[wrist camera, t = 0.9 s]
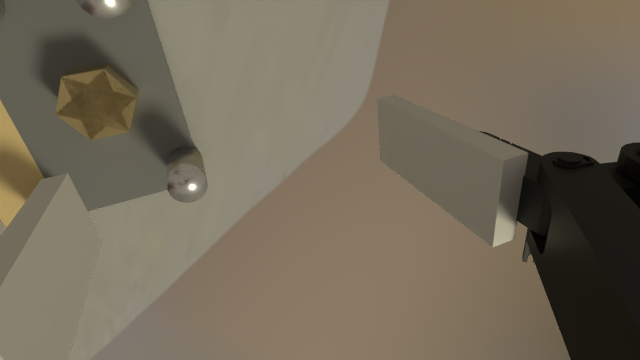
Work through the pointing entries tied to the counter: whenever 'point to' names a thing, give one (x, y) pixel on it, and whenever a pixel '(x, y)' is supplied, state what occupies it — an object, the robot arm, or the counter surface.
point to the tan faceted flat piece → (97, 101)
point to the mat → (58, 136)
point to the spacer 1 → (2, 9)
